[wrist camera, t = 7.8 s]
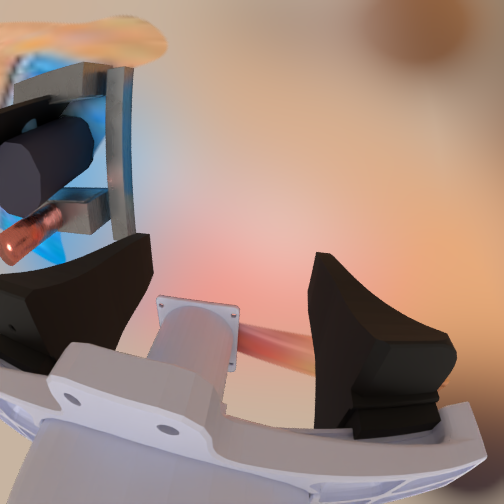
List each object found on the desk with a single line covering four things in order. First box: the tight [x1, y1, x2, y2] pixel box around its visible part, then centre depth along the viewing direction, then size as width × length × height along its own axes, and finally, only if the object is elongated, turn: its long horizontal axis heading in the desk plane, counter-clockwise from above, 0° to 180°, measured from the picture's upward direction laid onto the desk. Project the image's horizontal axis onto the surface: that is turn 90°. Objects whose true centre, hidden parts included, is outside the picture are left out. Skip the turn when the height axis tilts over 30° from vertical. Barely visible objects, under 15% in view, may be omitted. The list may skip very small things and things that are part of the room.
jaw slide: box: [0, 187, 111, 266], centre depth 18 cm, size 3×8×10 cm, turn 85°
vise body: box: [13, 62, 136, 240], centre depth 19 cm, size 14×12×4 cm
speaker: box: [0, 95, 94, 218], centre depth 16 cm, size 8×6×10 cm
